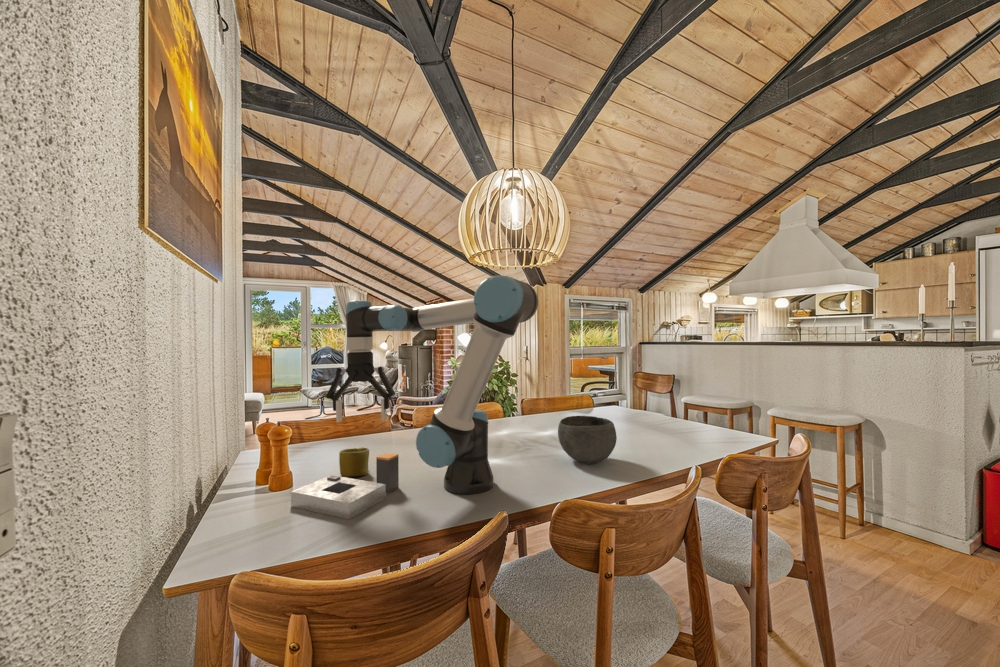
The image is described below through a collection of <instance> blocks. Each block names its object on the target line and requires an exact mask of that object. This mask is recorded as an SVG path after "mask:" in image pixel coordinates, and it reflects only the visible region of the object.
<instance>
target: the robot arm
mask: <svg viewBox="0 0 1000 667" xmlns="http://www.w3.org/2000/svg"><path fill="white" fill-rule="evenodd" d="M538 307H539V296H538V294H537V292H536V290H535V288H534V287H533V286H532V285H530V284H529V282H525V281H522V280H519V279H516V278H513V277H511V276H508V275H499V274H498V275H493V276H490V277H488V278H486V279H484V280H483V281H482V282H480V283H479V285H478V286H477V288H476V290H475V292H474V296H473V297H472V298H465V299H459V300H453V301H447V302H441V303H436V304H429V305H424V306H417V307H403V306H402V305H399V304H387V305H379V306H373V304H372V302H371V301H369V300H351V301H350V300H349V301H348V302H347V303H346V307H345V308H346V309H345V320H346V321H345V322H346V323H345V324H346V350H347V351H348V352H347V354H346V360H347V362H346V365H347V367H346V368H345V367H342V366H340V367H338V368H336V371H335V377H334V378H333V381H332V383H331V385H330V387H329V389H328V391H327V394H326V396H325V398H326V399H330V400H331V401H332V410H333V412H335V418H336V419H335V420H336V421H335V423H340V422H342V421H343V408H342V407H343V405H342V404H343V402H342V399H340V398H341V397H342V395H344V393H345V392H346V390H347V389H348V388H349V386H350V385H351V384H352V383H358V382H362V383H366V382H368V383H370V384H371V386H372V387H373V388H374V389H375V390H376V391H377V392H378V394H380V396H381V397H382V398H381V399H380V407H381V415H380V418H381V421H382V422H385V421H386V420H387V410H388V409H390V398H392V397H394V396H395V395H396V391H395V390H394V388H393V387H392V384H391V383H390V381H389V379H388V377H387V375H386V373H385V367H384V366H382V365H381V366H377V367H375V366H374V352H373V351H372V350H373V349H374V348H373V347H374V345H373V344H374V343H373V339H374V338H373V332H412V333H417V332H422V331H424V330H430V329H439V328H446V327H453V326H461V325H471V324H474V325H475V326H474V327H475V328H474V329H473V332H472V334H471V337H470V340H469V342H468V344H467V347H466V349H465V351H464V354H463V356H462V358H461V361H460V364H459V366H458V369H457V371H456V373H455V376H454V378H453V380H452V383H451V386H450V388H449V389H448V392H447V395H446V397H445V400H444V402H443V404H442V405H441V406H439V407H437V408H435V409H434V412H433V414H432V415H431V419H430V422H428V424H427V425H424V426H423V427H422V428H421V429H420V430H419V431H418V433H417V435H416V438H415V446H416V447H415V448H416V450H417V452H418V455H419V458H420V459H421V460H422V462H424V463H425V464H426V465H428V466H429V467H431V468H435V469H441V468H444V467H447V468H446V471H445V474H444V478H443V487H444V489H445V490H446V491H448V492H451V493H453V494H460V495H474V494H480V493H485V492H487V491H489V490H491V489H492V488H493V487H494V474H493V471H492V468H491V465H490V461H489V455H488V454H489V420H488V417H489V416H488V413H487V412H486V411H485V410H482V409H477V407H478V405H479V402H480V400H481V398H482V395H483V393H484V391H485V389H486V386H487V384H488V381H489V379H490V377H491V375H492V372H493V371H494V369H495V368H494V367H495V366H496V363H497V361H498V359H499V356H500V353H501V352H502V349H503V347H504V344H505V342H506V340H507V339H511V337H514V336H515V333H516V332H517V330H518V327H519V324H521V323H524V322H527V321H529V320H531V319H532V318H533V316H535V313H537V310H538ZM374 373H376V374H378V376H379V378H380V380H381V383H382V384H383V386H384V387H383V386H382V385H381V384H380V383H379V382H378V381H377V379H376V378H375V376H374ZM345 374H347V376H348V377H347V379H346V380H345V381H344V383H343V384H342V385H341V386H340V388H339V389H338V387H339V385H340V383H341V381H342V378H343V376H344V375H345ZM384 388H385V389H384ZM337 389H338V390H337Z"/></svg>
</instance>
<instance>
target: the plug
mask: <svg viewBox="0 0 1000 667" xmlns="http://www.w3.org/2000/svg"><path fill="white" fill-rule="evenodd" d="M375 463H376V466H375V467H376V469H375V470H376V471H375V472H376V483H381V484H386V494H387V493H391V492H394V491H395V490H397V489H398V488H399V485H400V484H399V481H400V480H399V479H400V478H399V454H398V453H392V452H391V453H390V452H385V453H382V454H380V455H378V456H376V462H375Z"/></svg>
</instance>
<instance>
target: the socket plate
mask: <svg viewBox="0 0 1000 667" xmlns="http://www.w3.org/2000/svg"><path fill="white" fill-rule="evenodd" d="M386 495H387V492H386V484H381V483H377V482H374V481H369V480H362V479H356V478H352V477H342V476H340V475H334V474H330V475H328V476H325V477H323V478H320V479H318V480H316V481H313V482H311V483H308V484H306V485H303V486H301V487H299V488H297V489H294V490H291V491H290V507H291V508H294V509H295V508H296V509H299V510H300V509H302V510H306V511H310V512H314V513H319V514H323V515H328V516H332V517H335V518H336V517H338V518H341V519H346V520H351V519H352V518H354V517H356V516H358V515H359V514H361V513H363V512H364V511H366V510H368V509H370V508H372V507H373V506H375V505H377V504H379V503H380V502H382V501H384V500H386V499H387V498H386Z"/></svg>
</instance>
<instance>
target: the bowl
mask: <svg viewBox="0 0 1000 667" xmlns="http://www.w3.org/2000/svg"><path fill="white" fill-rule="evenodd" d="M557 438H558V442H559V444H560V446H561V448H562V450H563V451H564V452H565V453H566V455H568V456H569V458H572V460H574V461H575V462H576V463H580V464H583V465H597V464H600V463H601V462H604V461H605V460H607V459H608V458H609V456H611V454H612V452H613V451H614V449H615V447H616V445H617V441H618V440H617V430H616V428H615V424H614V423H613V421H612V420H610V419H607V418H603V417H598V416H592V415H591V416H590V415H571V416H567V417H563V418H562V419H560V421H559V423H558V427H557Z"/></svg>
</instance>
